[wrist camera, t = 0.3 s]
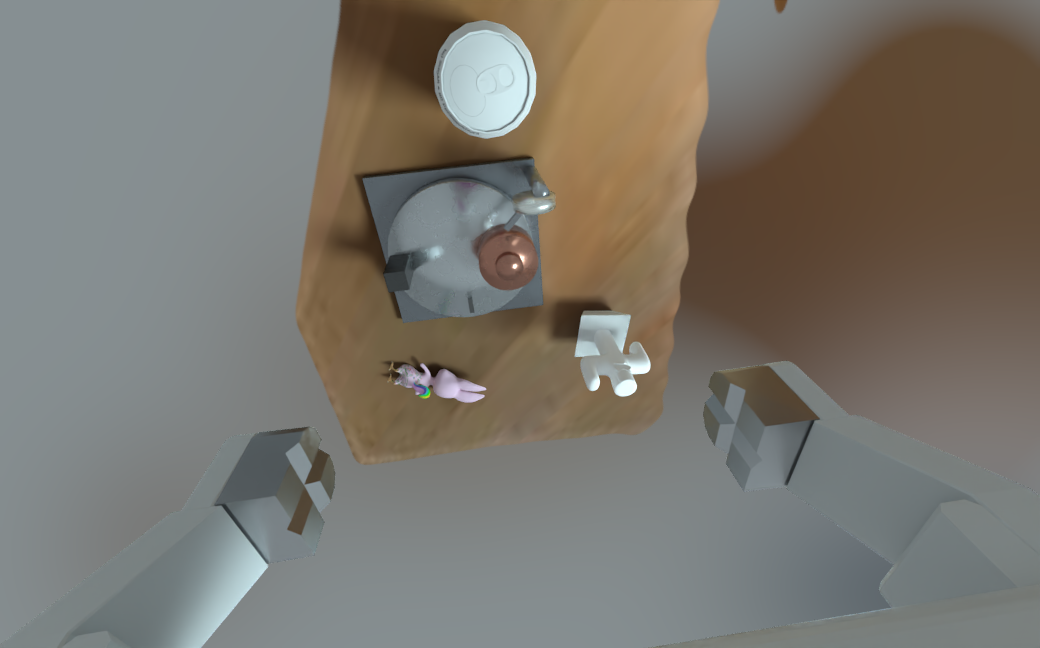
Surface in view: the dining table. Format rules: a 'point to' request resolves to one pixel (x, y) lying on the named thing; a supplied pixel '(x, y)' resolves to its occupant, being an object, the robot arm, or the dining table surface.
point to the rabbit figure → (437, 383)
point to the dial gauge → (532, 198)
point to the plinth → (398, 187)
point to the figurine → (609, 351)
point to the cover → (507, 257)
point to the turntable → (448, 246)
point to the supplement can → (485, 79)
